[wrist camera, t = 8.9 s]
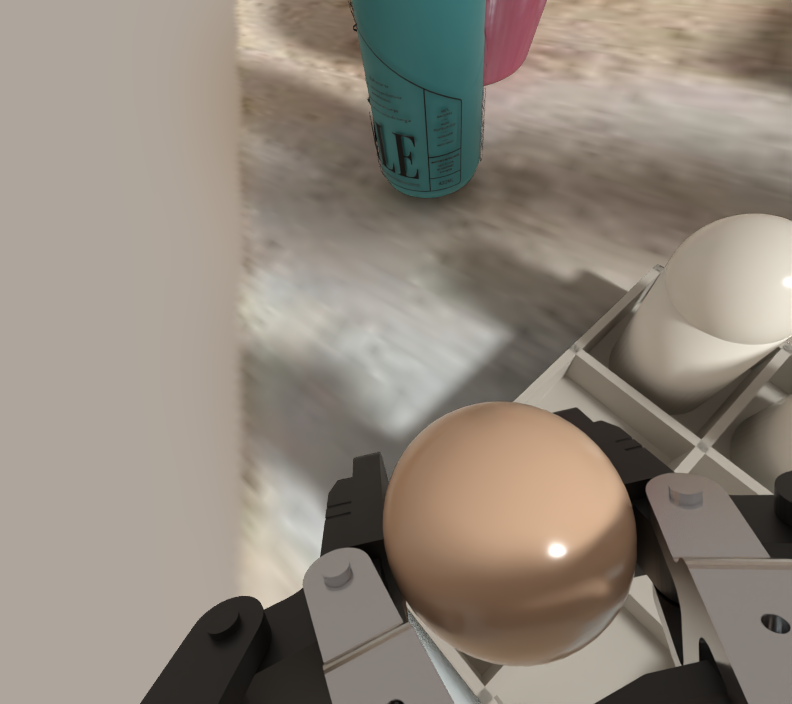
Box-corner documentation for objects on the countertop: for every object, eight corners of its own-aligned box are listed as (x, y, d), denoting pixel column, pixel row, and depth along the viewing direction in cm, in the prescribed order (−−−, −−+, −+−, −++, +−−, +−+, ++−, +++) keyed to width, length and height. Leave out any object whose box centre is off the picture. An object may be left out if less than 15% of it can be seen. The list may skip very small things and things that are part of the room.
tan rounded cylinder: (478, 454, 17) (507, 313, 8) (583, 558, 15) (757, 510, 6) (382, 546, 15) (305, 490, 7) (483, 671, 14) (535, 791, 5)
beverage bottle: (493, 158, 31) (543, -417, 13) (461, 230, 28) (468, -363, 11) (404, 141, 33) (344, -386, 15) (365, 208, 30) (238, -332, 12)
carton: (637, 296, 25) (657, 263, 22) (901, 470, 20) (966, 452, 17) (371, 553, 20) (360, 547, 18) (619, 866, 15) (651, 920, 13)
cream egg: (646, 312, 24) (749, 162, 15) (732, 370, 22) (903, 234, 13) (588, 369, 23) (666, 241, 14) (674, 435, 21) (820, 331, 12)
